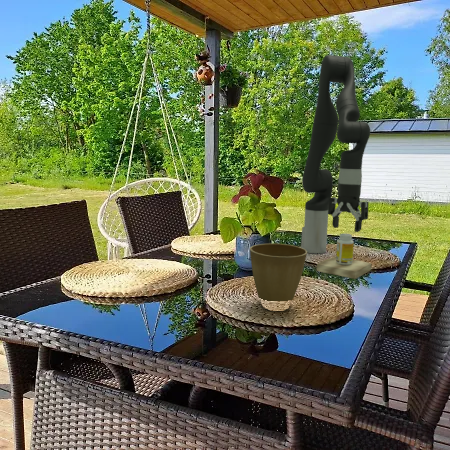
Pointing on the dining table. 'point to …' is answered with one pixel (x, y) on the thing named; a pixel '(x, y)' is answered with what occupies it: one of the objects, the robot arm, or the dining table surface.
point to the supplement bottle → (345, 249)
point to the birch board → (344, 268)
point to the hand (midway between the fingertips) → (346, 229)
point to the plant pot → (277, 270)
